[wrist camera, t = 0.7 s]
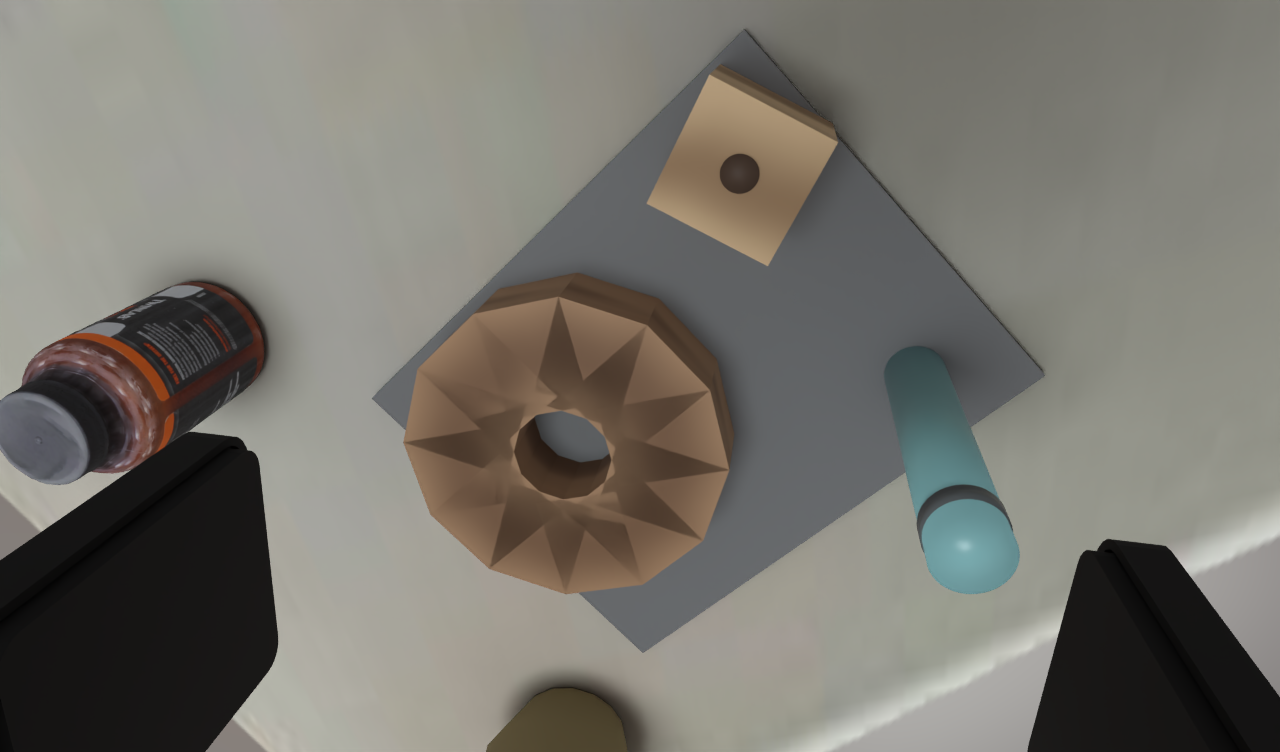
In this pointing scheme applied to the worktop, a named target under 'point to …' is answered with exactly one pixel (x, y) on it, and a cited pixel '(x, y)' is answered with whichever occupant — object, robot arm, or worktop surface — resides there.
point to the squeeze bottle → (562, 725)
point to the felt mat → (764, 347)
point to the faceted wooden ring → (589, 388)
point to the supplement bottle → (130, 384)
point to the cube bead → (743, 164)
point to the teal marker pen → (948, 478)
